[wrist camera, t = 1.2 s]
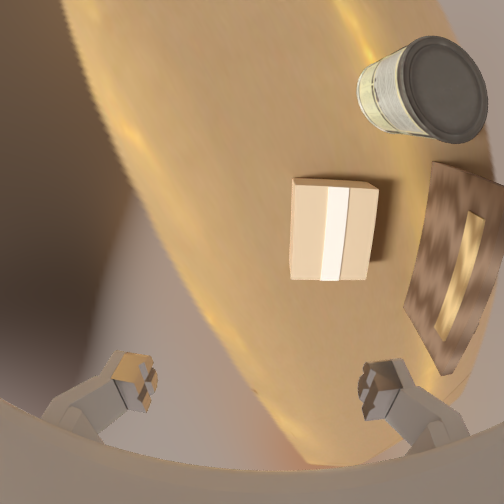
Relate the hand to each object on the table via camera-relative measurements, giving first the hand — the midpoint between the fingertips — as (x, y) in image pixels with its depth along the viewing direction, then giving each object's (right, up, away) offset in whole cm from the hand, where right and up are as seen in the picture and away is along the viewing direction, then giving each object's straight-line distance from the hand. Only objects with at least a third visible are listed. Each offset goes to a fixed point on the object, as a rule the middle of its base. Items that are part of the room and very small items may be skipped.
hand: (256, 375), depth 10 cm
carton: (+10, +9, +28) cm, 31 cm away
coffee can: (+18, +25, +20) cm, 37 cm away
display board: (+28, +6, +28) cm, 40 cm away
